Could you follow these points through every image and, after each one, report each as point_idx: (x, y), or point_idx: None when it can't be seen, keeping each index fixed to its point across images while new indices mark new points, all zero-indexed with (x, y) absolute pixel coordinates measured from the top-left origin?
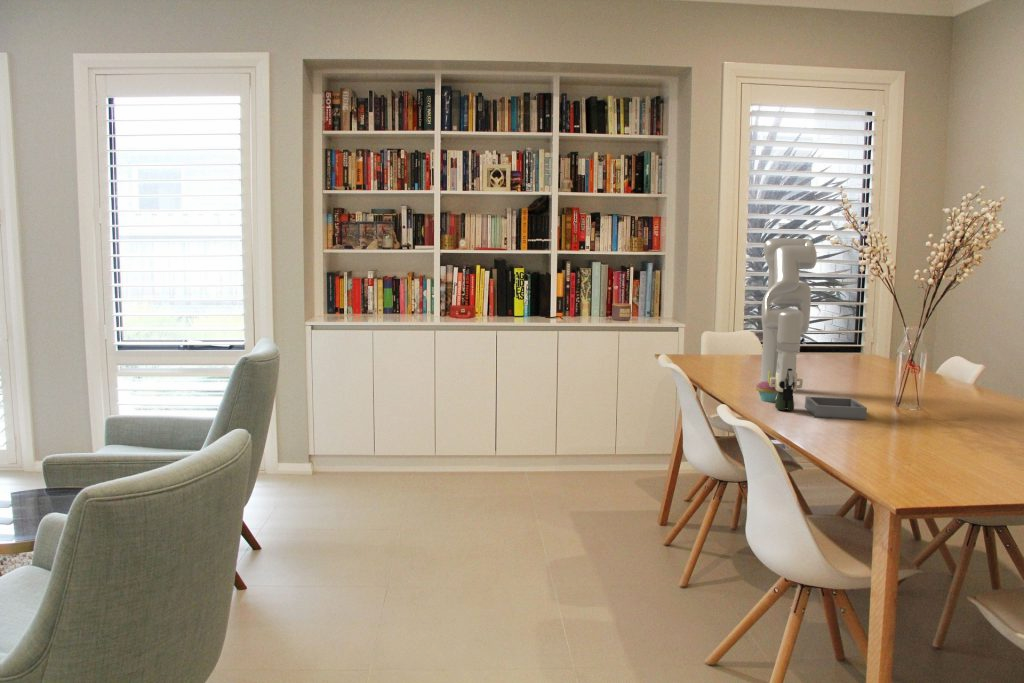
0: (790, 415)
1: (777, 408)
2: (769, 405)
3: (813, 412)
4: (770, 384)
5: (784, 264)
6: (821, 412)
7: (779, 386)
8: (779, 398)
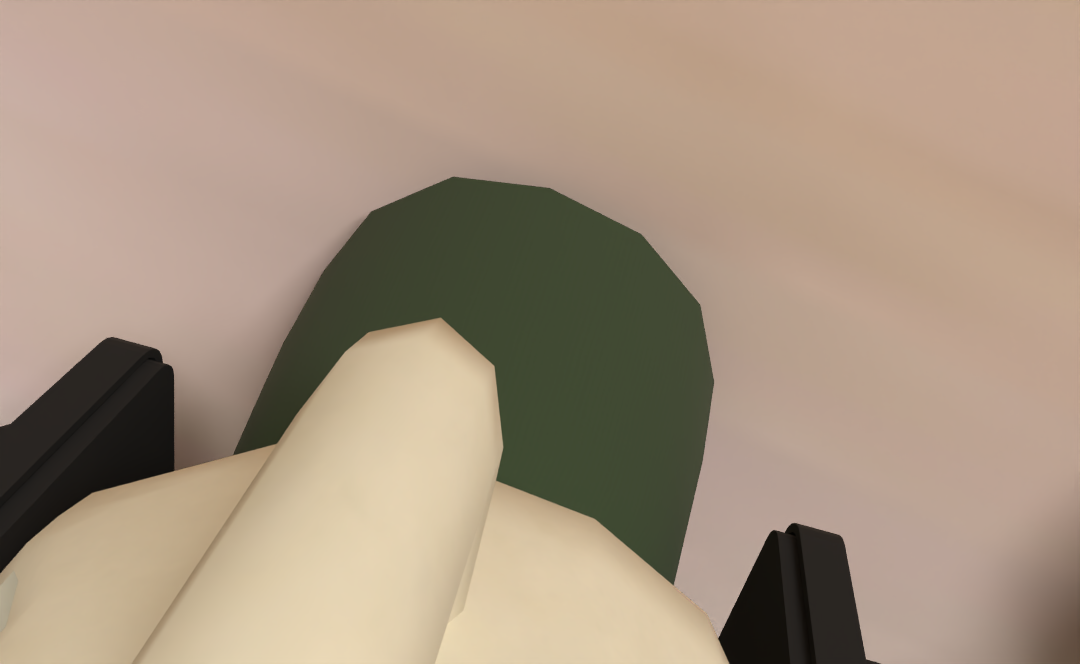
0: (20, 232)
1: (431, 190)
2: (1051, 248)
3: None
4: (318, 386)
5: None
6: None
7: (13, 606)
8: (344, 348)
